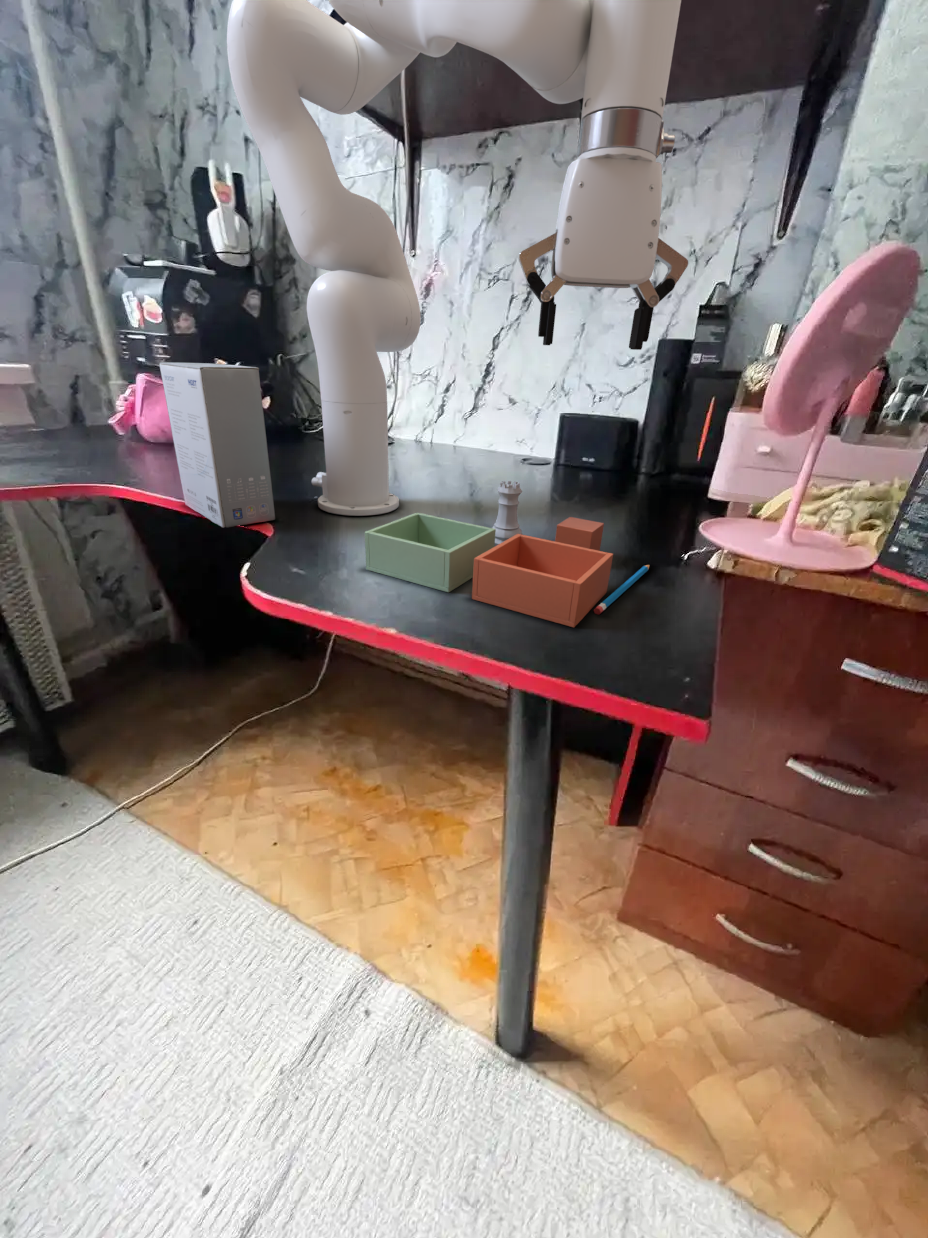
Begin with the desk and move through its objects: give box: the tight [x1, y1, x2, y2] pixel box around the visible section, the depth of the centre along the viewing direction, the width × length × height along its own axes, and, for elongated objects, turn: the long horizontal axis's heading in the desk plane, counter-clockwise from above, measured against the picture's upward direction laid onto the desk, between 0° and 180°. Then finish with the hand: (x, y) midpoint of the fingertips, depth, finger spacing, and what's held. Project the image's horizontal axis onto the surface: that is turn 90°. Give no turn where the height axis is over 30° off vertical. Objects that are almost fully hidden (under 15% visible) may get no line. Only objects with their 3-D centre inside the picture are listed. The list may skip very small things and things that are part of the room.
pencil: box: [593, 564, 650, 615], centre depth 61 cm, size 1×17×1 cm, turn 146°
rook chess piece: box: [491, 480, 523, 546], centre depth 72 cm, size 4×4×8 cm
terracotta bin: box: [471, 533, 614, 628], centre depth 57 cm, size 11×10×4 cm
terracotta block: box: [554, 516, 605, 551], centre depth 68 cm, size 4×4×4 cm
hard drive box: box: [158, 361, 276, 529], centre depth 76 cm, size 16×8×20 cm, turn 43°
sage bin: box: [364, 512, 496, 593], centre depth 63 cm, size 11×10×4 cm
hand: (591, 347), depth 60 cm, fingers open, 9 cm apart
